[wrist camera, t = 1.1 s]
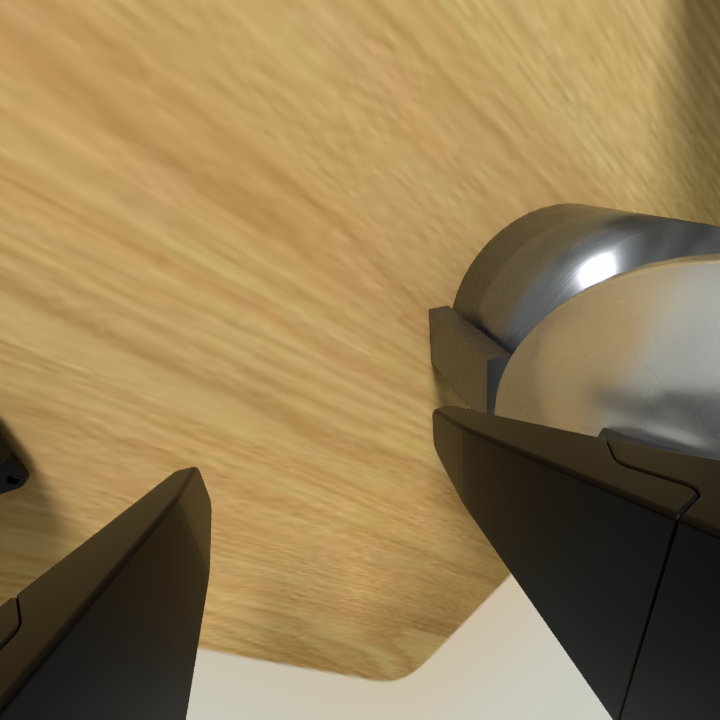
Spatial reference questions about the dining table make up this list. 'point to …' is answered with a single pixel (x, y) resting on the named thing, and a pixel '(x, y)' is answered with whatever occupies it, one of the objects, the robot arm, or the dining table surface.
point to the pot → (544, 283)
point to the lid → (628, 360)
